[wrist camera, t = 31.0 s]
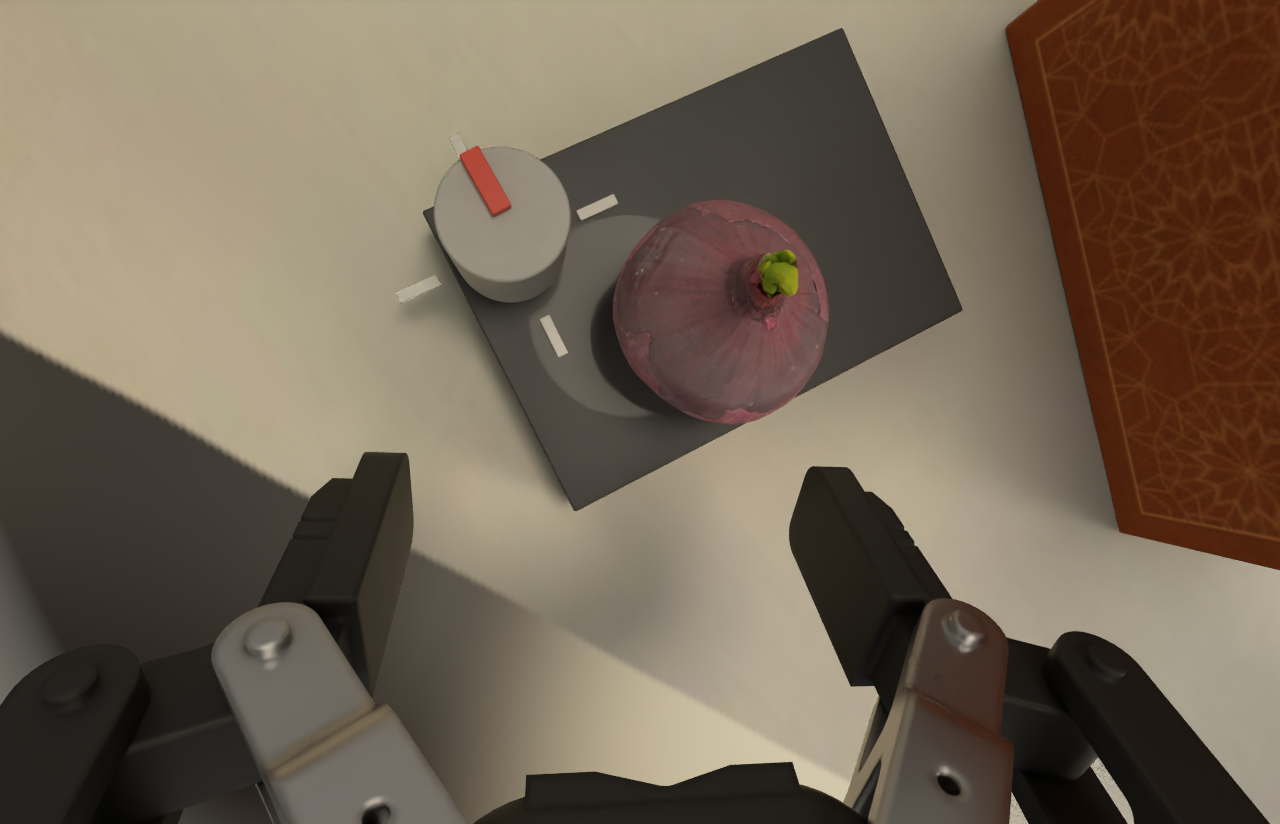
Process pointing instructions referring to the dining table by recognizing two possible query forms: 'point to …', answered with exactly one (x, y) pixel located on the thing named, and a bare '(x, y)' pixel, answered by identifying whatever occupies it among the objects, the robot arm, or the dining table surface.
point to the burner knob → (503, 222)
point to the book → (1169, 250)
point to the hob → (695, 172)
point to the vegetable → (722, 311)
